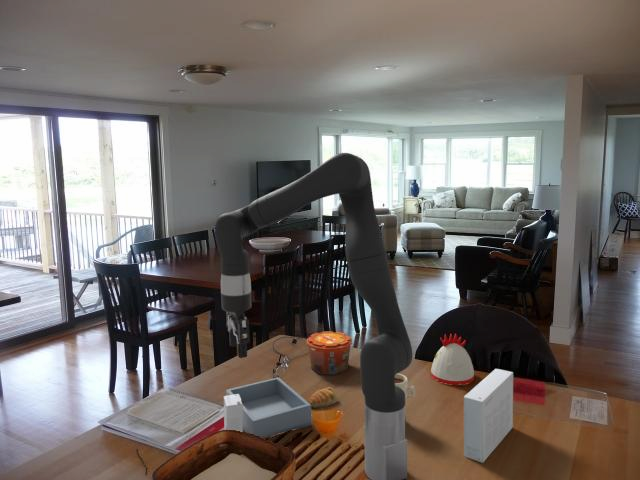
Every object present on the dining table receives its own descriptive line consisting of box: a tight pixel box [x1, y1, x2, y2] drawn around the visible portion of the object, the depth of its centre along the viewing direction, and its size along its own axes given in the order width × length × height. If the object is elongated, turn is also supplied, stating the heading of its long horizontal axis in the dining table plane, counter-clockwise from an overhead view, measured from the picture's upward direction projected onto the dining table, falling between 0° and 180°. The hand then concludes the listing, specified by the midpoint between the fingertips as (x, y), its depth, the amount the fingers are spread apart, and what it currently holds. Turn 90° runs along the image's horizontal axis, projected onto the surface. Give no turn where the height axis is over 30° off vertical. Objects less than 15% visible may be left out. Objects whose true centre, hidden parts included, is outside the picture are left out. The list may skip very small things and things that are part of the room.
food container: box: [306, 330, 353, 375], centre depth 181 cm, size 16×16×11 cm
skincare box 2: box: [463, 368, 514, 464], centre depth 133 cm, size 21×5×16 cm, turn 141°
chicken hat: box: [430, 333, 475, 386], centre depth 172 cm, size 14×14×15 cm
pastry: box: [306, 387, 339, 409], centre depth 156 cm, size 9×7×4 cm
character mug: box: [395, 373, 416, 422], centre depth 143 cm, size 11×7×13 cm, turn 77°
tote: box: [225, 377, 312, 438], centre depth 147 cm, size 21×17×6 cm
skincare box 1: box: [223, 394, 244, 433], centre depth 134 cm, size 6×4×12 cm
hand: (238, 351), depth 134 cm, fingers open, 8 cm apart
